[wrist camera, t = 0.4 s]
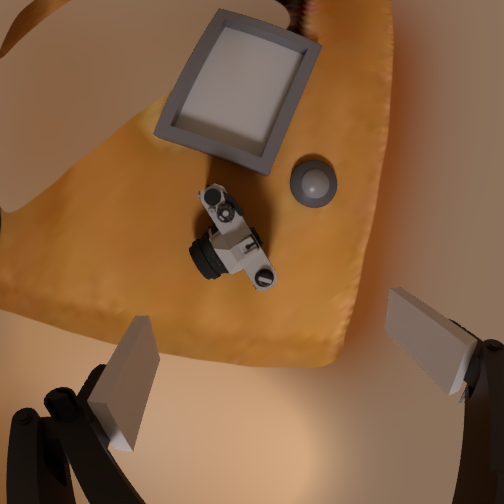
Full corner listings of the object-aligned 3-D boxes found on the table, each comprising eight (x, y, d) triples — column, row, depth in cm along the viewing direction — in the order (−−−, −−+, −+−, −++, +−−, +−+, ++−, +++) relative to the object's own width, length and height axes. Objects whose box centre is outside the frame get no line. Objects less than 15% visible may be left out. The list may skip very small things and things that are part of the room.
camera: (167, 211, 34) (152, 228, 25) (219, 174, 33) (220, 178, 24) (227, 289, 38) (230, 326, 29) (275, 258, 37) (293, 286, 29)
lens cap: (282, 196, 35) (284, 196, 33) (299, 153, 34) (302, 151, 32) (323, 214, 36) (327, 215, 34) (340, 172, 35) (344, 172, 33)
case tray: (158, 137, 31) (153, 133, 28) (219, 19, 27) (219, 8, 25) (264, 176, 33) (268, 175, 31) (315, 54, 30) (322, 45, 27)
